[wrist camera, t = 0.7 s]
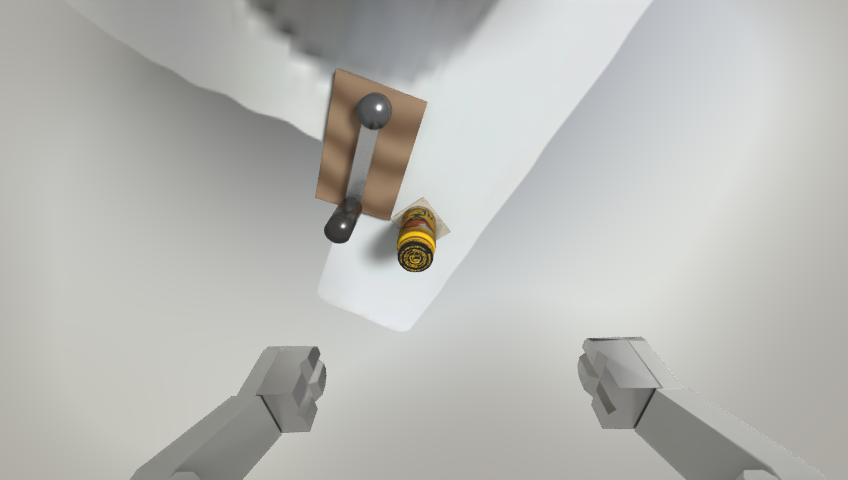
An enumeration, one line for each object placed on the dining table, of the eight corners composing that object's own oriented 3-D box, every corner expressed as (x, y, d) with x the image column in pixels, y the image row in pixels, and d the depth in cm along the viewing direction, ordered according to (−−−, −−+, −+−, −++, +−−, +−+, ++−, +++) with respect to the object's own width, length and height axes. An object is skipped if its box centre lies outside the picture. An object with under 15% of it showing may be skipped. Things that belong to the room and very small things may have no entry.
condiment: (423, 196, 52) (420, 231, 42) (450, 231, 55) (454, 271, 45) (390, 218, 54) (380, 256, 44) (418, 250, 58) (415, 292, 48)
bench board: (339, 68, 42) (336, 68, 41) (427, 101, 44) (427, 103, 43) (318, 194, 52) (315, 197, 51) (390, 216, 54) (389, 220, 53)
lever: (365, 87, 41) (345, 96, 32) (395, 98, 42) (385, 111, 33) (339, 205, 51) (319, 238, 42) (365, 213, 52) (350, 247, 43)
